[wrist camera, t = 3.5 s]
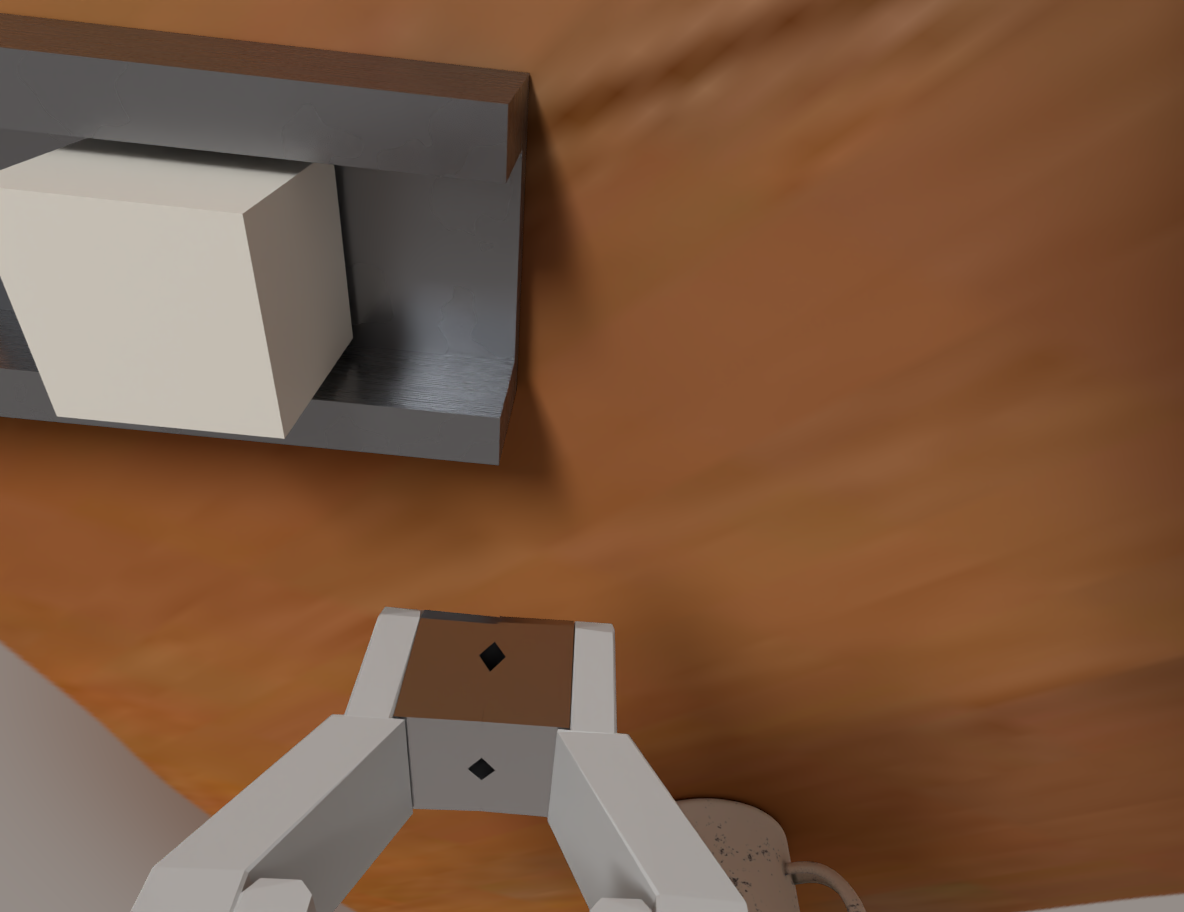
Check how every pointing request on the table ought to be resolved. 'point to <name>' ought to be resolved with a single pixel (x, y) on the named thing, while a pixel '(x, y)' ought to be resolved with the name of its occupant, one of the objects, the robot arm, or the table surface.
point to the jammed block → (176, 283)
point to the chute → (365, 197)
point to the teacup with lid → (759, 856)
